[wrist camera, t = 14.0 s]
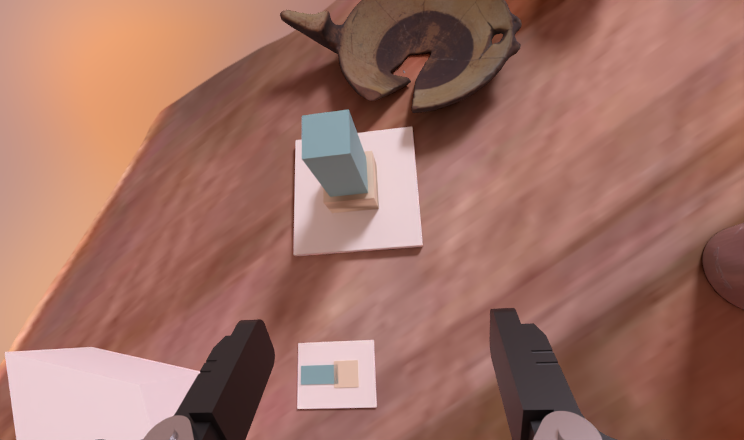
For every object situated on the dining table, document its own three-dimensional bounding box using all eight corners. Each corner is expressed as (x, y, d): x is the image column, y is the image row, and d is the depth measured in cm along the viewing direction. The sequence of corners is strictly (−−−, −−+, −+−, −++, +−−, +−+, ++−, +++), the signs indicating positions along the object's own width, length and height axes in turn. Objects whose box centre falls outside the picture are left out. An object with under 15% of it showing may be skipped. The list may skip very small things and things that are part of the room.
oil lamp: (465, 156, 47) (472, 124, 39) (282, 76, 55) (260, 37, 47) (538, 25, 51) (557, -26, 43) (357, -32, 59) (347, -83, 51)
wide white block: (205, 583, 38) (127, 672, 28) (52, 395, 46) (-49, 414, 36) (291, 458, 40) (247, 500, 30) (130, 300, 48) (55, 293, 38)
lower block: (376, 165, 47) (372, 150, 43) (378, 208, 45) (374, 197, 41) (331, 169, 48) (323, 156, 44) (332, 213, 46) (323, 202, 42)
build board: (412, 130, 49) (412, 126, 48) (422, 246, 44) (422, 244, 43) (298, 143, 51) (295, 140, 50) (296, 256, 46) (293, 254, 45)
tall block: (366, 157, 43) (348, 109, 33) (368, 193, 42) (350, 153, 32) (329, 161, 44) (301, 115, 34) (330, 197, 42) (301, 159, 33)
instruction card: (373, 339, 42) (373, 340, 41) (376, 407, 40) (376, 407, 39) (298, 343, 43) (297, 343, 43) (297, 408, 41) (296, 409, 41)
